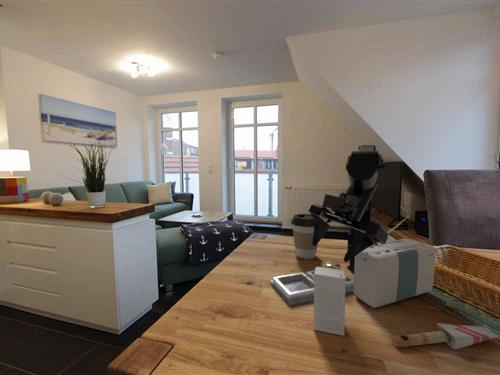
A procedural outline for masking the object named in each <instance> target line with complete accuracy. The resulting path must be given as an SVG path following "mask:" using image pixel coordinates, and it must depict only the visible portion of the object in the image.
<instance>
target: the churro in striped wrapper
mask: <svg viewBox="0 0 500 375" xmlns="http://www.w3.org/2000/svg"><path fill="white" fill-rule="evenodd" d="M436 326H437V329H438V330H437V331H429V332H419V333H411V334H409V333H408V334H403V335H392V336H390V341H391V343H392V345H393V346H394V348H405V347H412V346H413V347H414V346H421V345H429V344H439V343H445V344H447V345H448V346H449V347H450V348H451V349H453V350H458V349H459V350H460V349H463V348H465V347H469V346H472V345H476V344H479V343H483V342H485V341H490V340H492V339H493V340H494V339H496V338H497V339H498V338H499V337H500V335H498V334H496V333H494V332H493V331H491V330H489V329H488V328H486V327H484V326H477V325H476V326H475V325H466V324H465V325H462V324H453V323H452V324H451V323H441V322H439V323H438V322H436Z"/></svg>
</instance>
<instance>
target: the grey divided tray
mask: <svg viewBox="0 0 500 375" xmlns="http://www.w3.org/2000/svg"><path fill="white" fill-rule="evenodd" d="M321 267H323V268H331V269H339V270H341V264H340V263H338V262H336V261H334V260H333V261H332V260H324V261H322V262H321ZM314 273H315V269H314V270H308V271H306V273H304V272H297V273H290V274H286V275H284V274H283V275H279V276H274V277H272V280H270V282H269V283H270V285H271V286H272V287H273V288H274V290H276V292H277V293H278V294H279V295H280V297H282V299H283V300H284V301H285V302H286V303H287V304H288V305H289V307H296V306H299V305H304V304H308V303H312V302H313V303H314ZM345 277H346V285H345V296H347V295H349V294H350V295H351V294H354V278H352V277H351V276H348V274H346V273H345Z"/></svg>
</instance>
